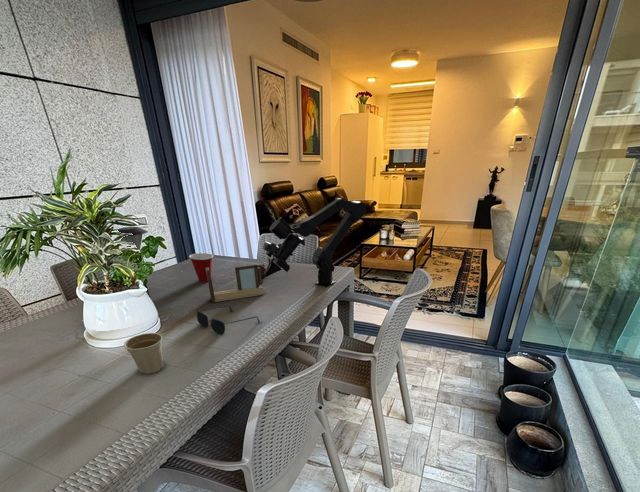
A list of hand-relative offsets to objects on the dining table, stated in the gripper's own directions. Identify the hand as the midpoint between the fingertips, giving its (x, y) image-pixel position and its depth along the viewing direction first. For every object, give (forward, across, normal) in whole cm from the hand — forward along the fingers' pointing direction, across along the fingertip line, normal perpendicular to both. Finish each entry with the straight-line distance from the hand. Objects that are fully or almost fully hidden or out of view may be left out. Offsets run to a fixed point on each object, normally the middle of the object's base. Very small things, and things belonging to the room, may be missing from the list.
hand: (264, 276), depth 147 cm
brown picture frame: (+9, 0, -1) cm, 9 cm away
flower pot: (+36, +48, -26) cm, 66 cm away
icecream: (+4, -20, +6) cm, 21 cm away
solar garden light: (+38, -4, -27) cm, 47 cm away
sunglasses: (+19, +26, -9) cm, 34 cm away
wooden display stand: (+13, 0, -3) cm, 14 cm away
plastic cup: (+21, -30, -11) cm, 38 cm away
